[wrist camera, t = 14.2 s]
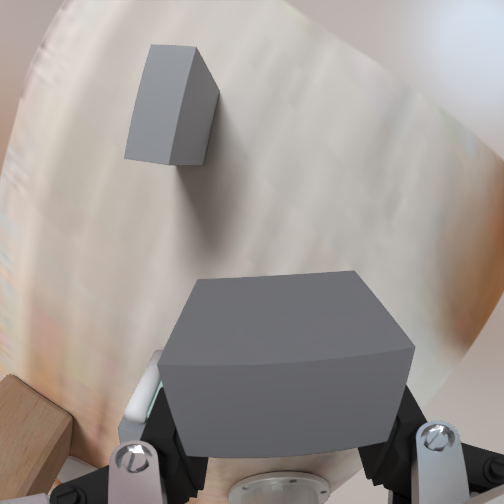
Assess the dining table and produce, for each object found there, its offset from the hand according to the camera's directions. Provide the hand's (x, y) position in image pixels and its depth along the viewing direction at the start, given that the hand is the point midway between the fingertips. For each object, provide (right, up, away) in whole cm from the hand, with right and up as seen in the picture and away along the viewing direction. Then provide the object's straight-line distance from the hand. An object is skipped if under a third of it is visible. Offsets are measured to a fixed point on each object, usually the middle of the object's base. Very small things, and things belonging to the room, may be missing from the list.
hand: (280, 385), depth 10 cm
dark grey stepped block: (0, +1, +1) cm, 1 cm away
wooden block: (-27, -15, +17) cm, 36 cm away
